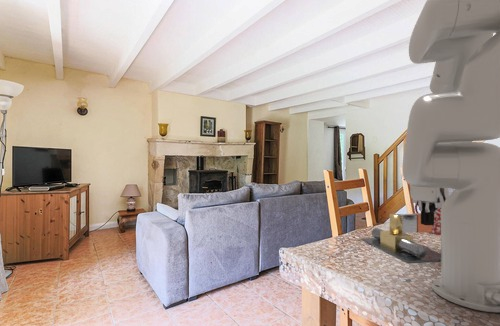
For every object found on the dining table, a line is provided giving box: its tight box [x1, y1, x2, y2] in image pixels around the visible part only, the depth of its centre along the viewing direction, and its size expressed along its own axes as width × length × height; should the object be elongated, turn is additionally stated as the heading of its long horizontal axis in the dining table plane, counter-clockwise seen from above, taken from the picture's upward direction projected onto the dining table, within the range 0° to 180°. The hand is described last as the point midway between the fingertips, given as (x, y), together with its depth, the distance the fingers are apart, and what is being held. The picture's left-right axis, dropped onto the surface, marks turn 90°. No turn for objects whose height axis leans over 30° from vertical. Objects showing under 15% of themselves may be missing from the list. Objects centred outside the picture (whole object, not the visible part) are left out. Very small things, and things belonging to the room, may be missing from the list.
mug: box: [414, 203, 441, 236], centre depth 105 cm, size 13×9×14 cm
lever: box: [389, 212, 432, 234], centre depth 84 cm, size 14×4×6 cm, turn 99°
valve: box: [361, 227, 441, 264], centre depth 84 cm, size 22×14×5 cm, turn 9°
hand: (427, 224), depth 80 cm, fingers closed
